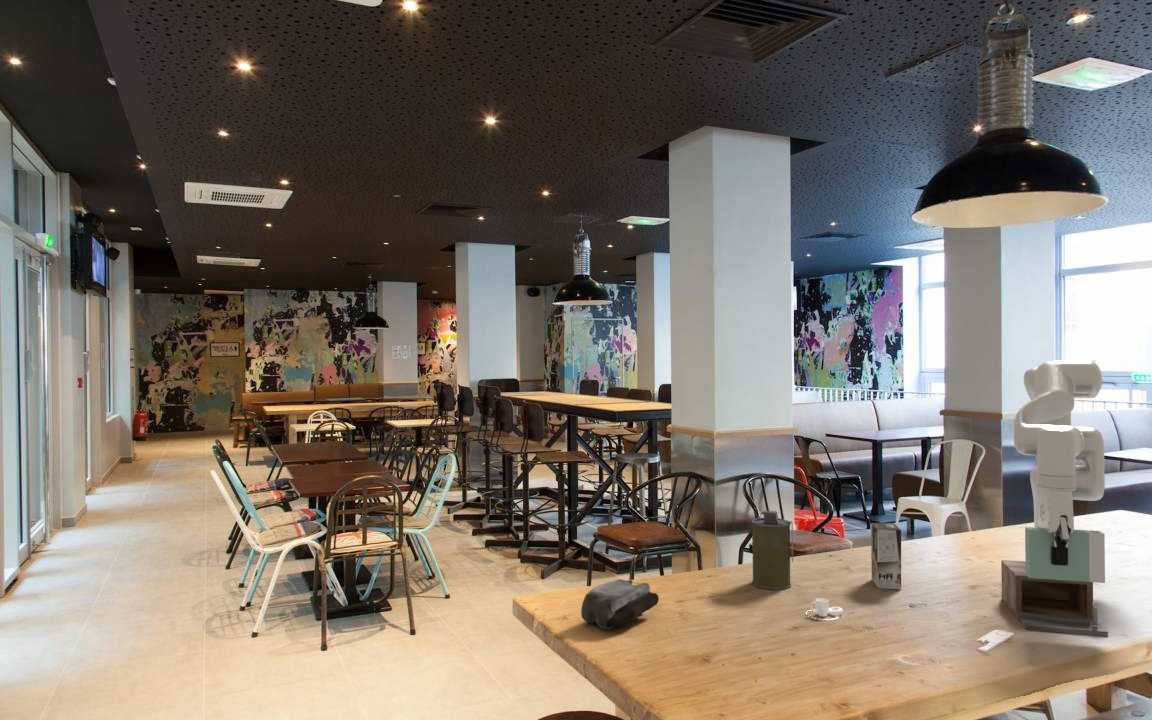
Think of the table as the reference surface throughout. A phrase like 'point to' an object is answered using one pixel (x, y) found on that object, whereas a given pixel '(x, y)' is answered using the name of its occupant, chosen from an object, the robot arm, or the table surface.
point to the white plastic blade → (994, 639)
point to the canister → (771, 551)
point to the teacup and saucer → (825, 609)
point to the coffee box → (886, 555)
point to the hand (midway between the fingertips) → (1056, 561)
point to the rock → (617, 603)
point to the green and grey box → (1082, 556)
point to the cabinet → (1049, 602)
